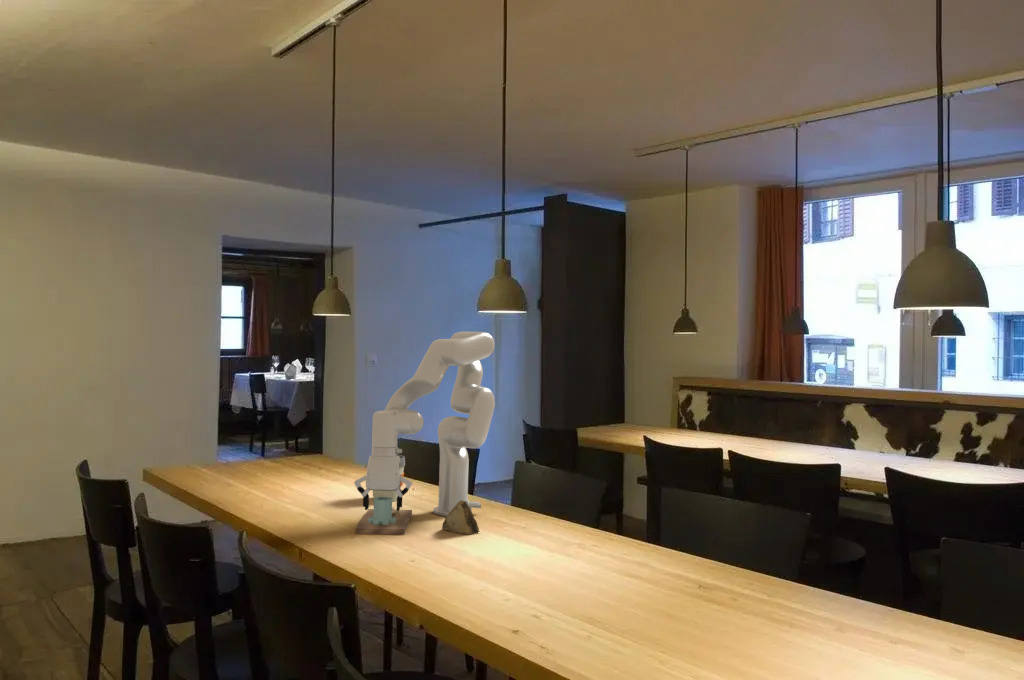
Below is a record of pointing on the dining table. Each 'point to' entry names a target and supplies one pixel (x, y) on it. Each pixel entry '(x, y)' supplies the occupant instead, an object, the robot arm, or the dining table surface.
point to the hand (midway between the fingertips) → (382, 509)
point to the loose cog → (382, 511)
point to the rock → (461, 519)
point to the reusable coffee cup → (391, 493)
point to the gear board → (395, 528)
